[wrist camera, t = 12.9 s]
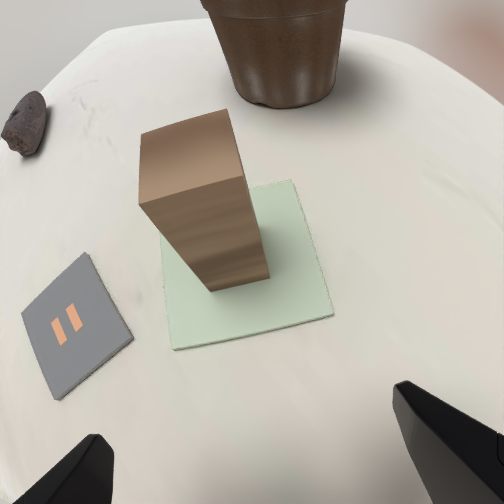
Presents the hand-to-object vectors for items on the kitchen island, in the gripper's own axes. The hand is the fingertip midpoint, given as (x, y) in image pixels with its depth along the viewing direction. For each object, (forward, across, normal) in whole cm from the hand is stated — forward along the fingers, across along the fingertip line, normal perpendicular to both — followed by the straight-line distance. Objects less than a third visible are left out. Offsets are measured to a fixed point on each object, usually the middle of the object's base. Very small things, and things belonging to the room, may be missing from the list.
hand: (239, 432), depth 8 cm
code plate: (+16, +17, +3) cm, 23 cm away
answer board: (+18, +1, +1) cm, 18 cm away
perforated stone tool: (+39, +28, -20) cm, 52 cm away
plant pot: (+33, -9, -14) cm, 37 cm away
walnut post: (+17, +1, +1) cm, 17 cm away
